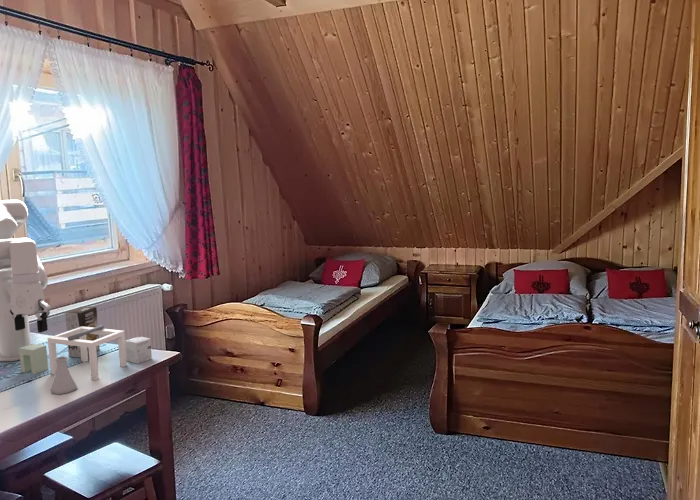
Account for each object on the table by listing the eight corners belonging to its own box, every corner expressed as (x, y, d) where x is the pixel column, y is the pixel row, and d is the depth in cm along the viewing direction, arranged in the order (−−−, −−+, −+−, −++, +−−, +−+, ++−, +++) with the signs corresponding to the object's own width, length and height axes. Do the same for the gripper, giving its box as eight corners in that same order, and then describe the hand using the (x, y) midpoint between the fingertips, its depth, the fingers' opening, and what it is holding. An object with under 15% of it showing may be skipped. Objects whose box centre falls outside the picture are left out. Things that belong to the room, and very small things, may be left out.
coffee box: (84, 357, 196) (80, 312, 194) (68, 356, 198) (64, 312, 195) (100, 349, 205) (97, 306, 203) (85, 348, 207) (81, 305, 204)
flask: (70, 383, 172) (68, 352, 171) (81, 389, 168) (79, 357, 166) (46, 391, 167) (43, 358, 165) (56, 397, 162) (53, 363, 161)
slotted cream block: (21, 372, 183) (19, 348, 182) (34, 366, 188) (32, 343, 187) (35, 374, 181) (32, 350, 180) (48, 368, 186) (46, 345, 185)
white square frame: (50, 374, 181) (47, 334, 179) (84, 360, 194) (81, 322, 192) (95, 380, 175) (91, 339, 173) (126, 365, 188) (124, 327, 186)
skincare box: (137, 364, 189) (135, 343, 188) (125, 361, 192) (124, 340, 191) (152, 358, 194) (150, 338, 193) (140, 355, 198) (139, 335, 196)
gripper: (-5, 279, 179) (1, 331, 181) (36, 281, 173) (41, 335, 176) (16, 275, 186) (22, 326, 188) (56, 277, 180) (61, 329, 183)
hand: (31, 330), depth 182 cm, fingers open, 9 cm apart
